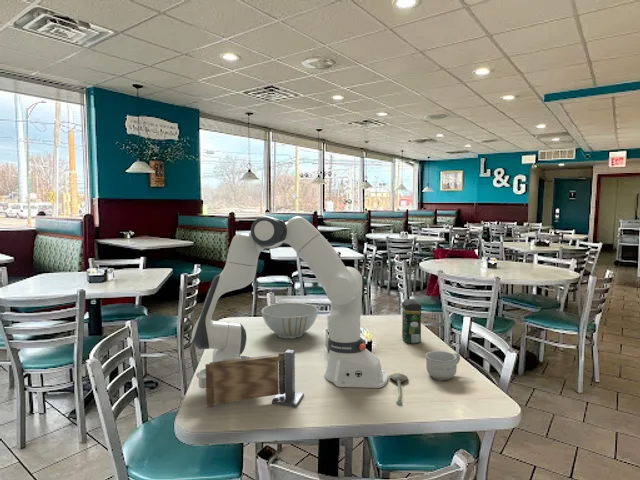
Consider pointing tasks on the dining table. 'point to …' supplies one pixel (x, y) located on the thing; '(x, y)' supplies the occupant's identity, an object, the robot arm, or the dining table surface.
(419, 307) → the coffee jar
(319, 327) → the dining table surface
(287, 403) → the gate post
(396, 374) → the soupspoon
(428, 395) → the dining table surface
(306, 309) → the decorative bowl
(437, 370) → the teacup
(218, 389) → the gate
